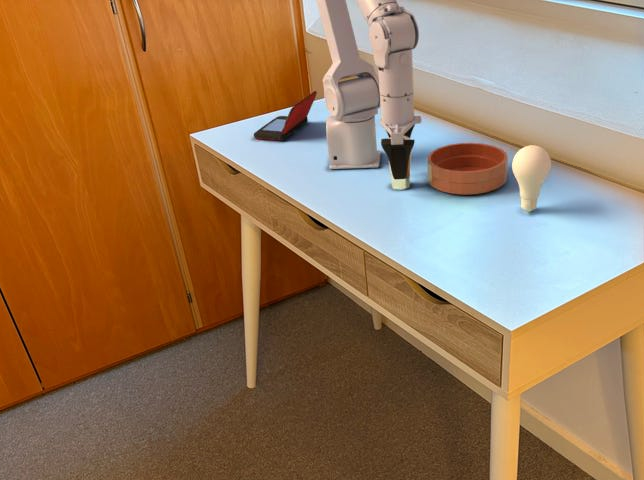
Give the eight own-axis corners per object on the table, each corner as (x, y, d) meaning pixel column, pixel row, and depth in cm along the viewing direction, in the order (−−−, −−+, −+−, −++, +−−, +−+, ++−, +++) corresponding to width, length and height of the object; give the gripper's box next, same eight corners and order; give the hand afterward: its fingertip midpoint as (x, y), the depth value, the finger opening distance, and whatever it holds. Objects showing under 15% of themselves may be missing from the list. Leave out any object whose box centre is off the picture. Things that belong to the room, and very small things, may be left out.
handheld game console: (279, 120, 164) (274, 86, 159) (322, 123, 160) (318, 89, 156) (251, 139, 154) (245, 104, 150) (296, 143, 151) (292, 107, 147)
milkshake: (414, 179, 133) (412, 125, 127) (412, 191, 128) (410, 136, 122) (390, 179, 133) (387, 125, 127) (387, 191, 129) (383, 136, 123)
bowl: (428, 198, 126) (427, 173, 123) (427, 167, 137) (427, 144, 134) (510, 195, 125) (511, 170, 122) (502, 164, 136) (503, 141, 134)
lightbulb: (550, 205, 121) (555, 141, 115) (543, 220, 117) (548, 155, 110) (514, 201, 123) (517, 138, 116) (506, 217, 118) (509, 152, 112)
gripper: (420, 104, 115) (422, 185, 123) (420, 79, 127) (422, 154, 135) (376, 106, 115) (381, 187, 123) (380, 80, 127) (385, 155, 135)
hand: (400, 170), depth 129 cm, fingers open, 7 cm apart
